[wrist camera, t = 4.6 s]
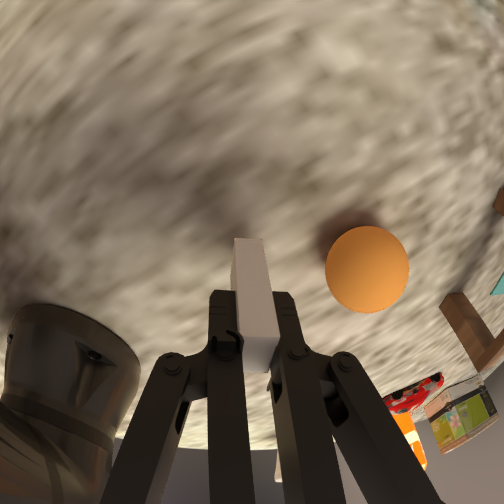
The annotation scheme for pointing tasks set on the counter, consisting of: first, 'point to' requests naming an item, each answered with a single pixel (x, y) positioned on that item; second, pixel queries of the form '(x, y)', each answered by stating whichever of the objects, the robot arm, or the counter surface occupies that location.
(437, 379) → the race car
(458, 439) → the tea box
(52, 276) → the counter surface
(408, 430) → the orange juice
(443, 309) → the bridge
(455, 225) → the counter surface
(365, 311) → the ball
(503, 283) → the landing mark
